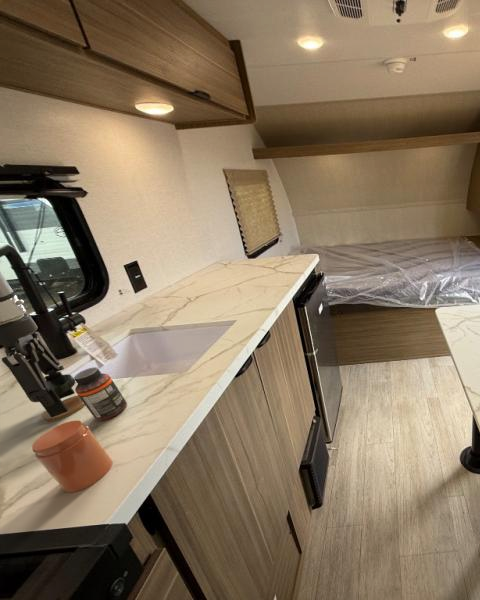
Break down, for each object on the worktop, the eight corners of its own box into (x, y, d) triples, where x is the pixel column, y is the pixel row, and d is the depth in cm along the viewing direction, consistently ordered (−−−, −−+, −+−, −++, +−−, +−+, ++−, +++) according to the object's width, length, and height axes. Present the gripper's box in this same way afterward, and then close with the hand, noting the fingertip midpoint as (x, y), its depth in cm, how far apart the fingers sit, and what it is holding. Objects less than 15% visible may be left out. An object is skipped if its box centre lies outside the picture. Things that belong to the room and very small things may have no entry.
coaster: (34, 422, 73) (32, 419, 73) (69, 397, 80) (67, 395, 80) (65, 420, 72) (63, 417, 72) (97, 396, 80) (95, 393, 79)
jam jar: (53, 493, 55) (17, 452, 51) (90, 458, 61) (60, 419, 57) (88, 492, 54) (54, 450, 50) (121, 457, 60) (94, 418, 56)
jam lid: (62, 396, 72) (58, 390, 71) (21, 406, 70) (16, 400, 69) (83, 376, 78) (79, 370, 78) (46, 385, 77) (41, 379, 76)
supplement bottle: (100, 409, 74) (74, 370, 70) (130, 399, 77) (107, 360, 72) (91, 426, 70) (62, 385, 65) (124, 414, 72) (98, 374, 67)
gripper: (11, 330, 60) (76, 419, 70) (40, 301, 76) (90, 377, 85) (-48, 346, 57) (29, 438, 66) (-5, 312, 72) (52, 390, 82)
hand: (63, 404), depth 76 cm, fingers closed on jam lid, 8 cm apart
